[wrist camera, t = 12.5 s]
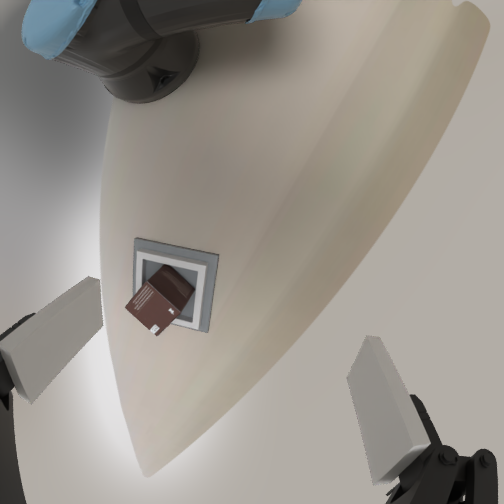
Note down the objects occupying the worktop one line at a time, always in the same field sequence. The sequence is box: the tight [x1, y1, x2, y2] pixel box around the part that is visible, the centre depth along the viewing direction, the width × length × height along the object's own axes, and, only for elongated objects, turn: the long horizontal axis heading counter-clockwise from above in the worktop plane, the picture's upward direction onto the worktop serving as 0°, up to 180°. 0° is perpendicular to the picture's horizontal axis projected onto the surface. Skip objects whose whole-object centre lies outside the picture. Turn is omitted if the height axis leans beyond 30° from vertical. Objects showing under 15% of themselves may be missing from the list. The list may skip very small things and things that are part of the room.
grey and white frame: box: [133, 238, 219, 333], centre depth 41 cm, size 13×13×2 cm
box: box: [125, 264, 195, 336], centre depth 38 cm, size 6×6×7 cm
